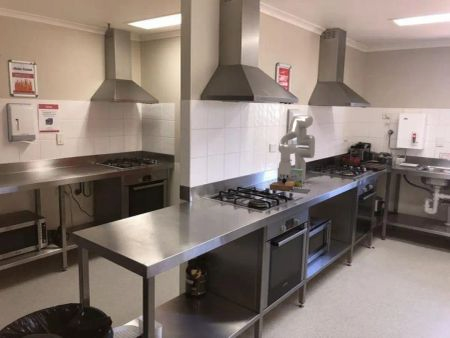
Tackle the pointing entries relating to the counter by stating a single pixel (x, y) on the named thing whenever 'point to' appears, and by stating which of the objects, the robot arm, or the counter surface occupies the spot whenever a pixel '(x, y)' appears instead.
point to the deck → (280, 187)
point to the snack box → (294, 177)
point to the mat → (300, 190)
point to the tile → (290, 183)
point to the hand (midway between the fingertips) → (284, 183)
